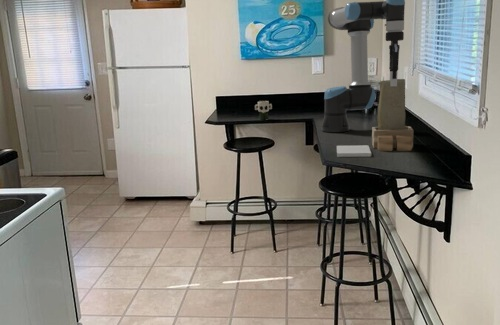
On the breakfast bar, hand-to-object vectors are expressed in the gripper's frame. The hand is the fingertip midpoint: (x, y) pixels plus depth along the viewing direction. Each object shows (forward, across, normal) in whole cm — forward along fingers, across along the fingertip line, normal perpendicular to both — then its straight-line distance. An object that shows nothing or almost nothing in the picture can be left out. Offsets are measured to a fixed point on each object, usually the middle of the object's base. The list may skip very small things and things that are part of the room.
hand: (393, 85), depth 212 cm
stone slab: (+27, +1, 0) cm, 27 cm away
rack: (+27, 0, 0) cm, 27 cm away
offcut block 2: (+27, +9, +4) cm, 29 cm away
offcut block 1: (+27, +9, -4) cm, 29 cm away
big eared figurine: (+28, -80, -70) cm, 110 cm away
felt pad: (+27, +14, -18) cm, 36 cm away
